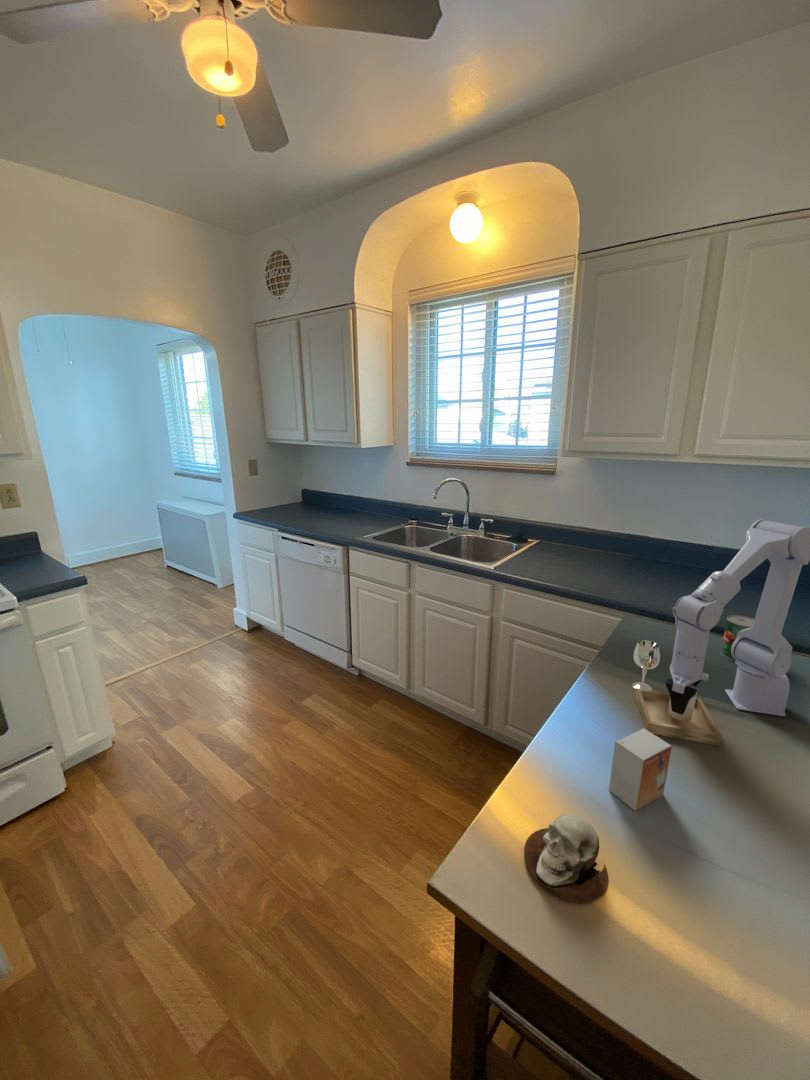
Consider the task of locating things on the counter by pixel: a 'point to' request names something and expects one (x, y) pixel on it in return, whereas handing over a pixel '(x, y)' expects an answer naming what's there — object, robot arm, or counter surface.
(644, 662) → the wineglass
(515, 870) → the counter surface
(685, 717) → the shaker
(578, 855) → the skull
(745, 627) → the canned tomato
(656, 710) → the tray
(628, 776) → the small box
